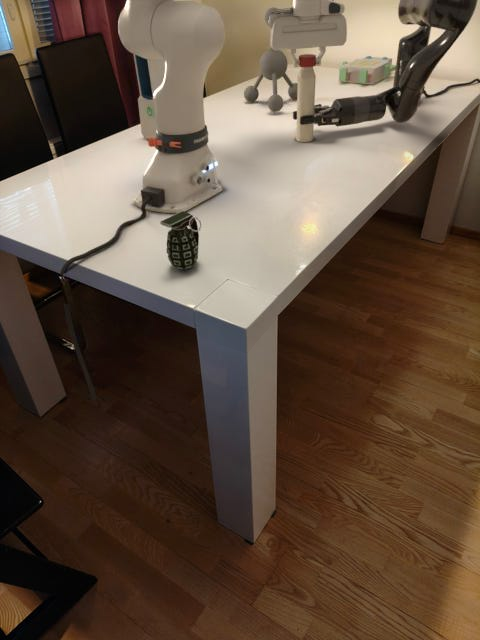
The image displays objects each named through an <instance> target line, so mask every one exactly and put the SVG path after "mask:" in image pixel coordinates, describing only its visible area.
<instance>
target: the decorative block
mask: <svg viewBox="0 0 480 640" xmlns="http://www.w3.org/2000/svg"><path fill="white" fill-rule="evenodd" d="M392 63H393V58H392V57H387V56H383V57H379V56H371V55H367V56H365V57H362V58H357V59H354V60H352V61H350V62H348V61H343V62H342V65H341V66H340V68H339V73H338V82H341V83H342V82H343V83H353V84H362V85H363V84H364V85H375V84H377V83H378V82H380V81H382V80H385V79H386V78H389V77H390V74H391V72H395V69H396V64H395V65H394V64H392Z"/></svg>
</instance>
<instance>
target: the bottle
mask: <svg viewBox="0 0 480 640" xmlns="http://www.w3.org/2000/svg"><path fill="white" fill-rule="evenodd" d="M316 79H317V76H316V72H315V69H314V66H313V67H300V69H299V72H298V74H297V83H298V87H297V99H296V111H297V120H296V132H295V133H296V136H295V137H296V139H295V140H296V141H297V142H300V143H309V142H312V141H313V140H314V125H315V124H305V125H301V124H300V117H301V116H308V115H314V105H316V104H315V102H316V101H315V100H316Z"/></svg>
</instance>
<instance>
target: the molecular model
mask: <svg viewBox="0 0 480 640" xmlns="http://www.w3.org/2000/svg"><path fill="white" fill-rule="evenodd" d="M275 9H278V8H277V7H274V6H273V7H272V6H271V7H269V8H268V9H267V10H266V11H265V13H264V21H265V24H266V25H267V26H268V27H270V26H269V16H270V14H271V13H272V12H273V11H275ZM273 14H275V13H273ZM280 14H282V13H280ZM258 66H259V71H260V74H259V75H258V77H257V79H256V81H255V83H254V84H253V85H248V86H247V87H246V88H245V89H244V91H243V97H244V99H245V101H247V102H248V103H254V102H256V101H257V100H258V98H259V94H260V92H259V90H258V87H259V85H260V83H261V82H262V80H263V78H265V79H266V80H268V81H271V82H272V94H271V95H270V96H269V97H268V98H267V108H268V109H269V110H270V111H271V112H273V113H277V112H280V111H281V110H282V109H283V107H284V99H283V97H282V96H281V95H280V94H278V80H279V79H281V78H283V79H284V81H285V82H286V84H287V86H288V89H287V94H288V97H289V98H290V99H292V100H297V87H298V82H294V83H293V82H292V80H291V79H290V78H289V76H288V74H287V73H286V72H287V69H288V59H287V56H286V55H285V53H284V52H283V50H273V49H272V48H271V47H270V49H267V50H266V51H264V53H263V54H262V55H261V57H260V59H259V65H258Z"/></svg>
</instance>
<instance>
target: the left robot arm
mask: <svg viewBox="0 0 480 640" xmlns="http://www.w3.org/2000/svg"><path fill="white" fill-rule="evenodd" d="M345 10H346V9H345V5H344V3H342V2H340V1H337V0H291V7H285V8H277V9H275V11H273V12H272V13H271V14H270V16H269V26H268V27H269V28H270V35H269V47H270V49H271V48H272V49H273V50H280V51H283V50H285V51H286V50H289V55H290V56H291V58H292V60H293V62H292V63H293V67H294V68H301V67H300V64H299V63H300V60H299V58H297V57H296V55H295V54H296V53H297V50H298V49H311V48H312V49H313V48H318V51H319V53H318V55H317V56H316V65H315V66H314V67H320V66H321V65H322V58H323V57H324V55H325V53H326V52H327V51H326V50H327V49H326V48H327V47H328V48H329V47H341V46H344V45H345V43H346V42H347V37H348V26H347V24H348V23H347V19H346V16H345V15H344V13H345ZM273 13H275V14H273ZM280 13H281V14H280ZM117 23H118V24H117V31H118V36H119V39H120V42H121V44H122V46H123V47H124V48H125V49H126V51H128V52H129V53H131V54H133V55H134V54H135V55H137V56H140V57H142V58H145V59H149V60H159V61H165V77H164V81H163V83H161V84H160V85H159V86H158V87H157V88H156V90H155V91H154V95H153V101H154V108H155V114H156V121H157V128H158V129H157V130H156V138H152V137H150V138H149V139H147V146H149V147H151V148H152V147H154V148H155V151H154V153H153V155H152V157H151V159H150V162H149V163H148V165H147V167H146V169H145V172H144V173H143V176H142V189H140V193H139V195H138V196H137V197H135V199H134V205H135V206H137V207H138V208H140V210H141V214H140V216H139V217H138V218H137V217H136V218H135V219H131V220H127V221H125V222H123V223H121V224H120V225H119V227H117V230H116V232H115V234H114V235H113V237H112V238H110V240H108V241H107V242H104V243H103V244H100V245H98V246H96V247H93V248H92V249H90V250H88V251H86V252H84V253H82V254H79V255H76V256H73V257H71V258H69V259H67V260H66V262H64V264H63V265H62V267H61V269H60V275H64V274H66V273H67V271H68V268H69V267H70V266H71V265H72V264H73V263H75V262H78V261H82V260H84V259H87V258H88V257H90V256H92V255H94V254H96V253H98V252H101V251H102V250H105V249H107V248H109V247H110V246H111V245H113V244H115V242H117V241H118V239H119V238H120V236H121V233H122V231H123V230H124V229H125V228H126V227H128V226H132V225H134V224H136V223H138V222H140V221H142V220H144V219H145V218H146V216H147V211H151V212H157V213H164V214H177V213H179V212H181V211H184V212H187V211H189V210H190V209H193V208H194V207H196V206H198V205H199V204H201V203H203V202H205V201H207V200H208V199H210V198H212V197H214V196H215V195H217V194H219V193H220V192H222V191H223V185H222V184H220V183H219V180H218V174H217V168H216V167H218V161H215V156H214V155H213V153H212V152H211V149H210V147H209V145H208V143H209V130H208V126H207V124H206V120H205V119H206V118H205V105H204V104H205V103H204V88H205V82H206V77H207V74H208V71H209V69H210V67H211V65H212V64H213V63H214V62H215V60H216V59H217V58H218V57H219V56H220V55H221V52H222V50H223V48H224V46H225V40H226V28H225V23H224V21H223V18H222V16H221V13H220V12H219V11H218V10H217V9H216V8H215V7H213V6H210V5H208V4H205V3H201V2H198V1H194V0H126V2H125V4H124V7H123V8H122V10H121V11H120V14H119V17H118V21H117ZM63 307H64V313H65V318H66V323H67V326H68V331H69V335H70V338H71V341H72V344H73V348H74V350H75V353H76V355H77V359H78V362H79V364H80V366H81V370H82V372H83V374H84V377H85V380H86V383H87V385H88V389H89V391H90V395H91V398H92V401H93V402H94V403H95V402H98V398H97V394H96V390H95V388H94V385H93V382H92V379H91V377H90V373H89V370H88V369H87V366H86V363H85V360H84V357H83V355H82V352H81V348H80V346H79V343H78V342H79V341H78V339H77V335H76V332H75V327H74V323H73V320H72V315H71V310H70V309H71V308H70V303H69V304H68V303H65V302H63Z"/></svg>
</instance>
